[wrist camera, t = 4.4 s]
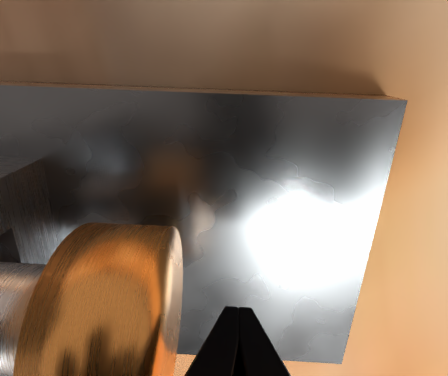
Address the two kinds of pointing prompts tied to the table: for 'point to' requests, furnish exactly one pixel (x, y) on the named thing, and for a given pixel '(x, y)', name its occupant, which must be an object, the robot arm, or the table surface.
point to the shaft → (95, 305)
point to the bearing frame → (210, 193)
